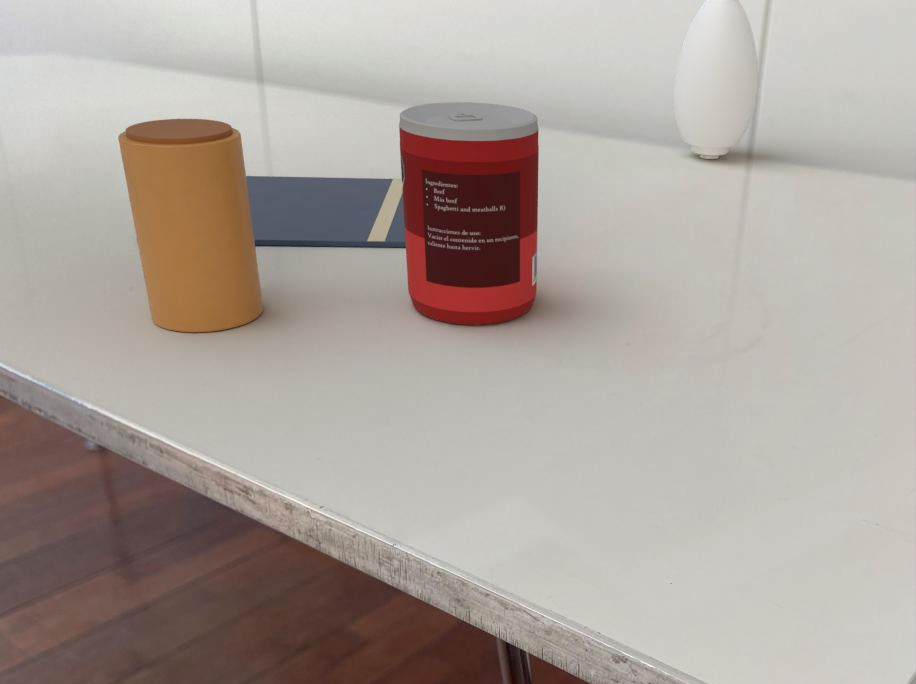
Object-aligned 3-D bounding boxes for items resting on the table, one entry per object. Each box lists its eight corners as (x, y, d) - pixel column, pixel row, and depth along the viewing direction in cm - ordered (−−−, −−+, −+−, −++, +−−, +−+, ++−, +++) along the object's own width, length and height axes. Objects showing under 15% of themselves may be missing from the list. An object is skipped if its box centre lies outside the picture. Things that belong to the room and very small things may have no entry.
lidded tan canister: (136, 332, 54) (99, 138, 49) (169, 294, 59) (138, 115, 55) (250, 333, 55) (224, 141, 50) (272, 295, 60) (250, 118, 55)
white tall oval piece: (765, 161, 98) (788, -42, 90) (706, 169, 94) (725, -43, 86) (711, 145, 104) (728, -47, 95) (653, 153, 100) (666, -48, 91)
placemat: (137, 243, 68) (136, 237, 68) (207, 179, 84) (206, 174, 83) (405, 247, 69) (405, 241, 69) (424, 184, 85) (424, 178, 85)
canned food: (483, 273, 65) (480, 97, 60) (564, 308, 60) (568, 119, 55) (382, 297, 60) (369, 108, 55) (460, 337, 55) (454, 133, 50)
